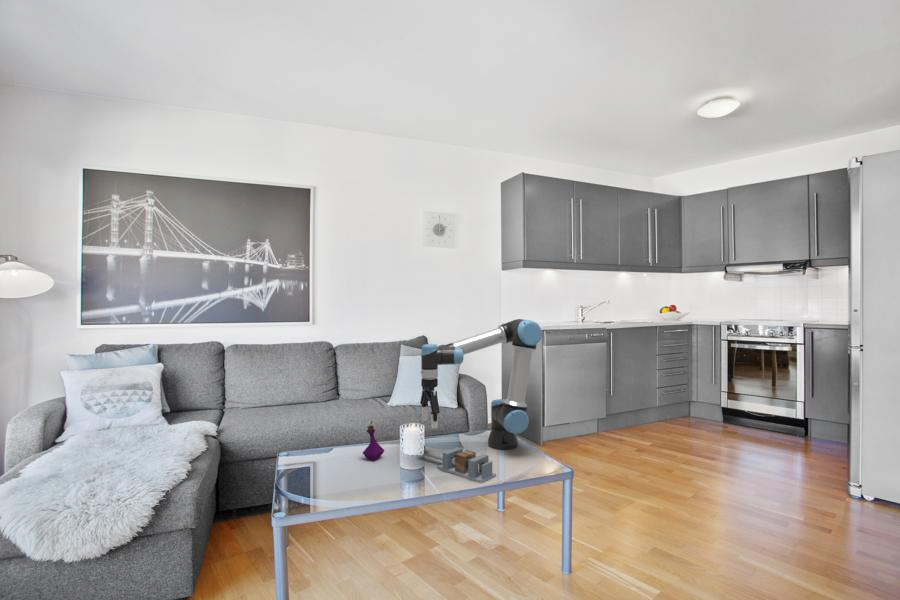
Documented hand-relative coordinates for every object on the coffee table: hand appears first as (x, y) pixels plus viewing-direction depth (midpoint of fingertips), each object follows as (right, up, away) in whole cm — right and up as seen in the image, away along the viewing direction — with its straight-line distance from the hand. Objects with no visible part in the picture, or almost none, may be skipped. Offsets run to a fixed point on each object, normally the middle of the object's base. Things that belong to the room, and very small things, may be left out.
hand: (429, 424), depth 216 cm
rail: (+16, -17, -14) cm, 27 cm away
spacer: (+16, -16, -14) cm, 27 cm away
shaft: (+4, -16, -3) cm, 16 cm away
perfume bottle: (-26, -17, +4) cm, 32 cm away
